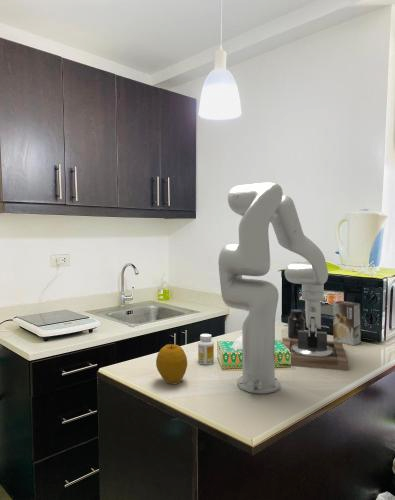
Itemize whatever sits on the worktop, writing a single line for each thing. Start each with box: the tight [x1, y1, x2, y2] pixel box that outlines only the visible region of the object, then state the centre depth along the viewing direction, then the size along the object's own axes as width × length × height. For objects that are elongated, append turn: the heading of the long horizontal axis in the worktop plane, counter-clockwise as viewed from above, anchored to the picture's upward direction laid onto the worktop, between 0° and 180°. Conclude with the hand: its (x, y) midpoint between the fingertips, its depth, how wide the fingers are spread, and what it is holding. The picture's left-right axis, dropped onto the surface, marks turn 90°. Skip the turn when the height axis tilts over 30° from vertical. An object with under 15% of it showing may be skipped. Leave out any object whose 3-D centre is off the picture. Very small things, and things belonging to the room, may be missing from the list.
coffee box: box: [332, 300, 362, 346], centre depth 156 cm, size 9×6×16 cm
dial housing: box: [281, 337, 349, 371], centre depth 139 cm, size 22×22×3 cm
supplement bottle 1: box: [197, 333, 215, 366], centre depth 134 cm, size 5×5×10 cm
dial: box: [292, 330, 333, 357], centre depth 138 cm, size 14×14×8 cm
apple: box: [155, 343, 188, 384], centre depth 117 cm, size 10×10×12 cm
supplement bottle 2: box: [287, 308, 306, 339], centre depth 161 cm, size 7×7×12 cm
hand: (312, 344), depth 139 cm, fingers open, 4 cm apart
